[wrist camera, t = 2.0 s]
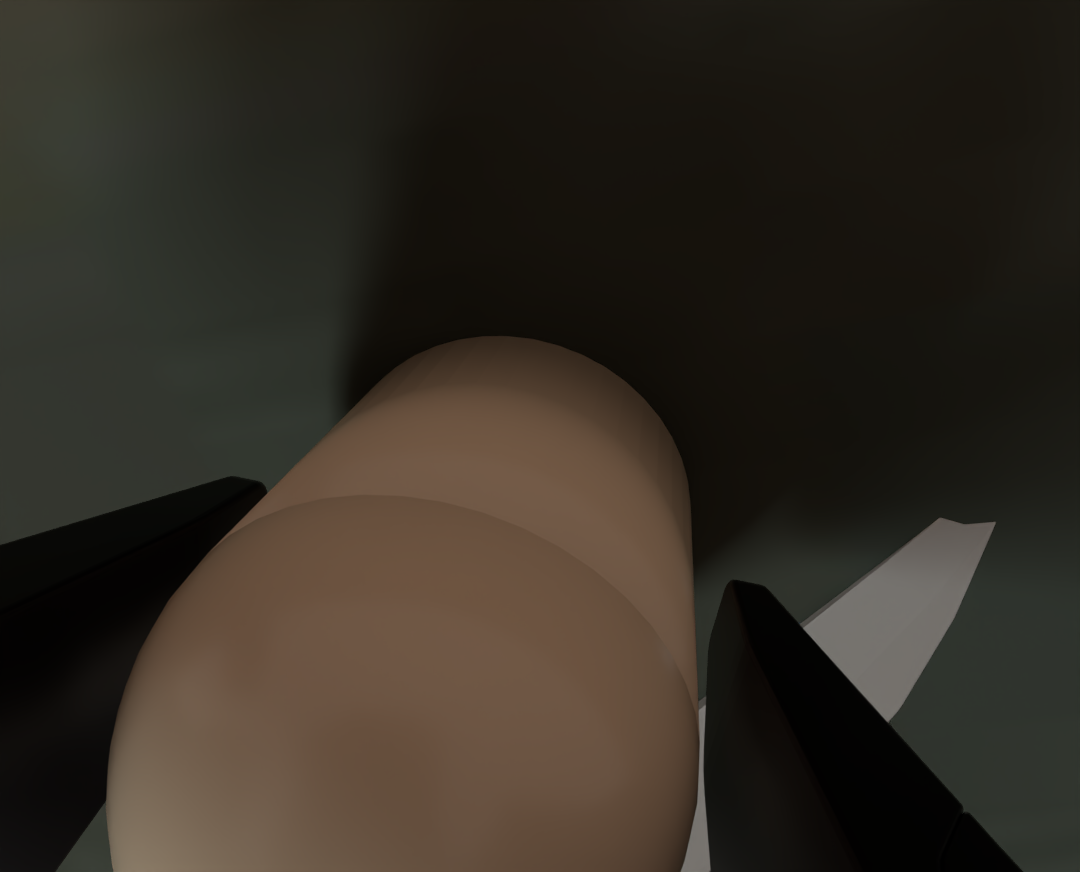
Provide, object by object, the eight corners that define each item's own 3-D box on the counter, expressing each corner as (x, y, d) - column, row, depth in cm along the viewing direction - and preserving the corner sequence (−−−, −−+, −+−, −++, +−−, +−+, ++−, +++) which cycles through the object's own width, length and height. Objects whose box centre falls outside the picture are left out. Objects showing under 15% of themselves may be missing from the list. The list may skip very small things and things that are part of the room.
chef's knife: (1240, 521, 9) (1079, 377, 9) (1313, 578, 8) (1139, 417, 8) (416, 1052, 17) (304, 994, 17) (401, 1114, 16) (283, 1054, 16)
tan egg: (650, 677, 11) (625, 1315, 5) (337, 609, 11) (0, 1132, 6) (730, 375, 9) (830, 890, 3) (344, 303, 9) (-176, 649, 4)
